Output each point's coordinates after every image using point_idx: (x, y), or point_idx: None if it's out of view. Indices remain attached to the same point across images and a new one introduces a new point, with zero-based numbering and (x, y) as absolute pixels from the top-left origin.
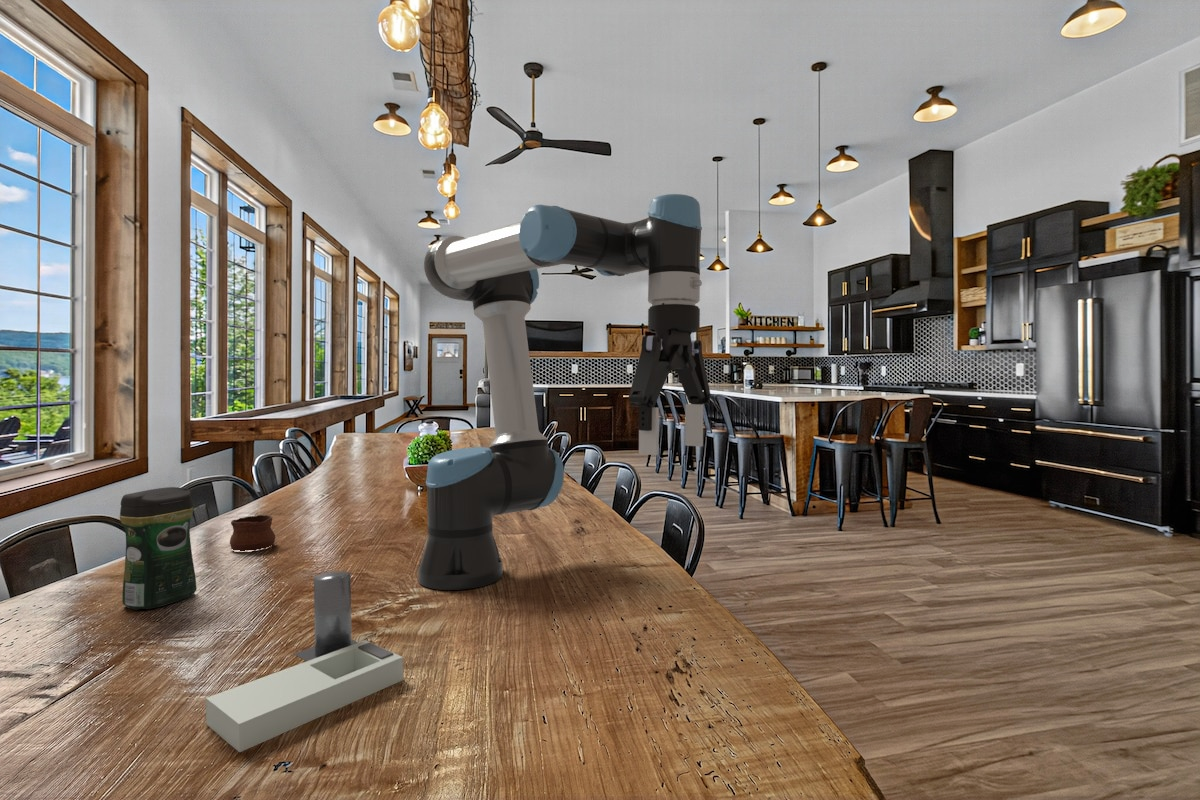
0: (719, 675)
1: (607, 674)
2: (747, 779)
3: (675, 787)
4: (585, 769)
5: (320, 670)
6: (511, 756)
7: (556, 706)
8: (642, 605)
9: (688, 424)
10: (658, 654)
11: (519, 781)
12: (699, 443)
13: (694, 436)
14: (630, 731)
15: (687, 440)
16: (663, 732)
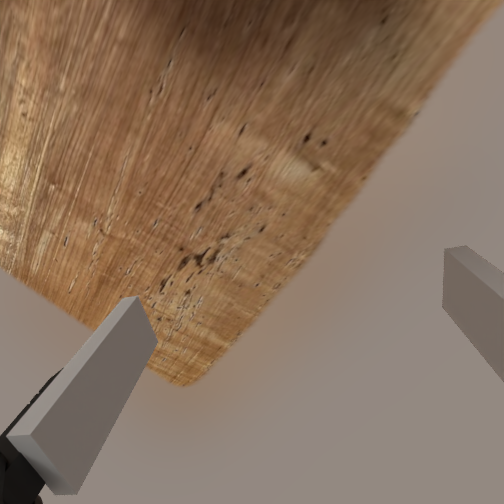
0: (219, 287)
1: (142, 223)
2: None
3: None
4: (67, 297)
5: None
6: (31, 259)
7: (80, 233)
8: (298, 111)
9: (498, 315)
10: (206, 228)
11: (29, 280)
12: (448, 310)
13: (464, 307)
14: (111, 290)
15: (454, 268)
16: None
